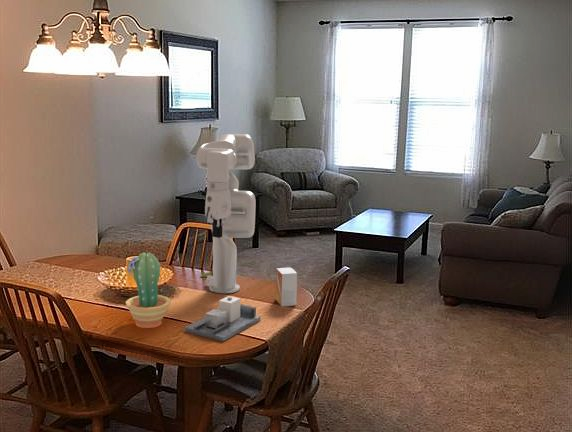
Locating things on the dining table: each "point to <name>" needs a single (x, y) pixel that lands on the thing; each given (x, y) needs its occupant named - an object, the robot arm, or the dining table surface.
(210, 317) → the block
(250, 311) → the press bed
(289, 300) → the small box
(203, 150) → the robot arm
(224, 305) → the block
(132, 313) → the potted cactus
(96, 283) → the dining table surface
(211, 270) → the lily flower
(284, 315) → the dining table surface
